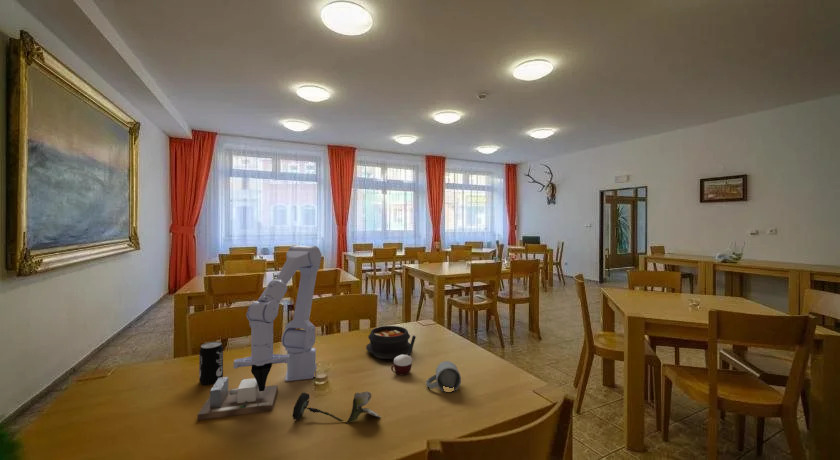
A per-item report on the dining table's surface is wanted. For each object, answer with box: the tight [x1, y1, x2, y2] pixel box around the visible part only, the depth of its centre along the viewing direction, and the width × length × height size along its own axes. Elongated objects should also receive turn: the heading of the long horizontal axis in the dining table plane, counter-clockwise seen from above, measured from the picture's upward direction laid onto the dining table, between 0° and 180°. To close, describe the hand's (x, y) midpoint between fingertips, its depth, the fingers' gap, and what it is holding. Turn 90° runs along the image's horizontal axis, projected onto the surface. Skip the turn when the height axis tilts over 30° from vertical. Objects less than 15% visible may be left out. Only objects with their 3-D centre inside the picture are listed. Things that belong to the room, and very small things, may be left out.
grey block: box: [209, 376, 229, 409], centre depth 95 cm, size 2×8×5 cm, turn 16°
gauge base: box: [197, 384, 279, 421], centre depth 96 cm, size 18×12×2 cm, turn 106°
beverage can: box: [198, 341, 224, 386], centre depth 110 cm, size 7×7×12 cm
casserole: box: [365, 325, 411, 360], centre depth 138 cm, size 25×19×8 cm
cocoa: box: [390, 335, 417, 376], centre depth 118 cm, size 10×6×12 cm, turn 103°
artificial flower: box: [291, 391, 381, 423], centre depth 90 cm, size 9×22×10 cm, turn 83°
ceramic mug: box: [425, 360, 462, 392], centre depth 108 cm, size 11×8×8 cm
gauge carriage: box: [229, 377, 259, 407], centre depth 95 cm, size 7×9×4 cm
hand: (262, 389), depth 98 cm, fingers closed
